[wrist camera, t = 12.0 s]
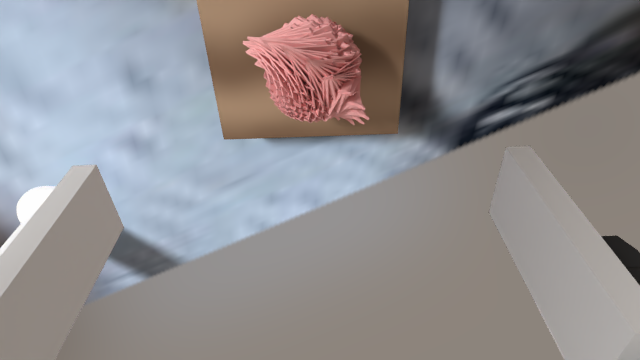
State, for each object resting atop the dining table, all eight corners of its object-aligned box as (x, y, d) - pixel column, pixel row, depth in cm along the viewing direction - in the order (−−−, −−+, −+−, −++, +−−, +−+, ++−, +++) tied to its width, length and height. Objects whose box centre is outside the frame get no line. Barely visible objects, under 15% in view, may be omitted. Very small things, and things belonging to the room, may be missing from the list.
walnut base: (201, -68, 25) (184, -59, 22) (402, -76, 25) (414, -69, 22) (233, 112, 32) (224, 139, 29) (389, 107, 32) (397, 133, 29)
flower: (361, -18, 18) (293, 91, 17) (421, 86, 24) (372, 168, 24) (251, -28, 23) (196, 57, 22) (324, 61, 29) (282, 129, 28)
